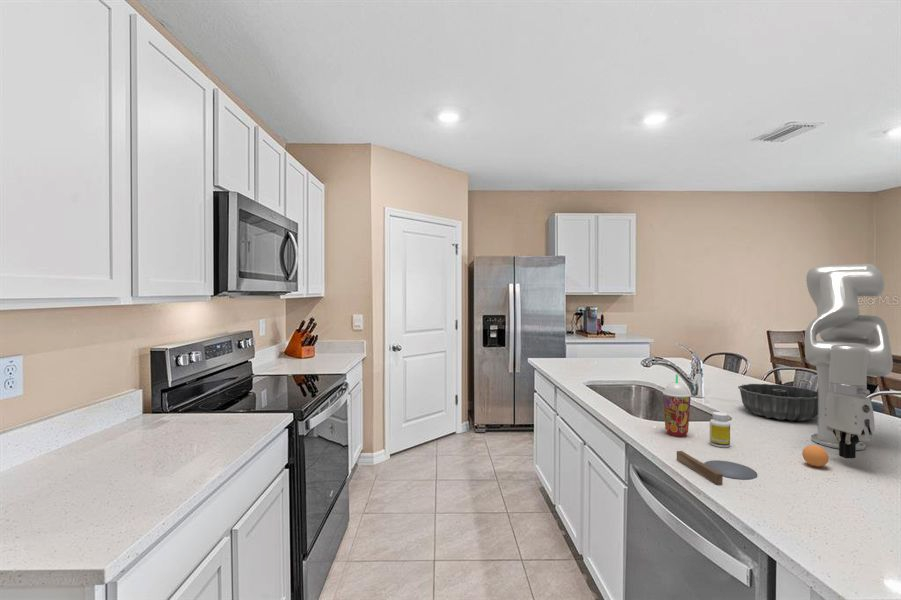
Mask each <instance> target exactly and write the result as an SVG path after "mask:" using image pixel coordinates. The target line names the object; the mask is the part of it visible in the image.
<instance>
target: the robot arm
mask: <svg viewBox="0 0 901 600" xmlns="http://www.w3.org/2000/svg"><path fill="white" fill-rule="evenodd" d="M805 277H806V280H805V281H806V287H807V291H808V293H809V296H810V298H811V299H812V302H813V303H814V305H815V307H816V311H817V313H816V314H817V316H816V317H815V318H814V319H813V320H811V321H810V323H809V324H808V326H807V327H806V329H805V333H804V355H805V356H804V357H805V359H806V362H807V363H808V364H809V365H811V366H813V367H816V374H817V375H816V376H817V391H818V415H817V433H813V434H811V435H810V440H812V441H813V442H814V443H816V444H818V443H819V445H822V446H825V447H828V448H829V447H830V448H834V449H838V455H839V456H838V457H840V458H844V459H856V458H857V457H856V456H857V455H856V451H863V450H865V449H866V443H864V442H870V441H871V438H872V436H873V435H875V429H876V428H875V427H876V426H875V413H874V408H873V404H872V402H871V401H872V400H871V397H867V396H868V395H870V394H871V391H870V390H869V389H867V388H868V387H867V385H868V384H867V382H868V381H867V380H868V379H867V378H868V377H869V376H870V377H886V376H888V375H890V374H891V373H892V371H893V366H894V362H893V354H892V353H893V352H892V348H891V343H890V342H891V341H890V336H889V330H888V327H887V324H886V321H885V320H884V319H883V318H882V317H879V316H876V315H869V314H868V315H867V314H860V307H859V306H860V305H859V297H878V296H880V295H881V294H883V292H884V289H885V279H884V276H883V274H882V271H880V269H878V267H877V266H876V265H874V264H872V263H852V264H851V263H850V264H847V263H845V264H826V265H823V264H822V265H819V266H818V265H817V266H815V267H811V268H810V269H809V270H808V271H807V273H806V276H805ZM818 334H819V337H820V339H821V340H822V341H821V340H817V335H818Z"/></svg>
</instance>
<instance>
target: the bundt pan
mask: <svg viewBox="0 0 901 600" xmlns="http://www.w3.org/2000/svg"><path fill="white" fill-rule="evenodd" d="M737 388H738V389H739V393H740V397H741V402H742V404H743V407H744V408H745V409H746V410H747V411H748V412H749V413H751V414H753V413H755V414H754V415H756V416H758V417H765V418H767V419H772V418H774V419H776V420H779V421H780V420H781V421H782V420H787V421H788V420H789V422H794V421H798V422H801V421H811V420H814V419H815V418H816V417H818V390H817V391H816V390H814V389H810V388H805V387H798V386H790V385H785V384H772V383H771V384H769V383H748V384H741V385H738V386H737Z"/></svg>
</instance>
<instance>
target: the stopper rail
mask: <svg viewBox="0 0 901 600" xmlns="http://www.w3.org/2000/svg"><path fill="white" fill-rule="evenodd" d="M676 461H678V462H679V463H681V464H682V465H684V466H686V467H687V468H689V469H691V470H693V471H694V472H695V473H697V474H699V475H700V476H702V477H704V478H705V479H706V480H709V482H712V483H714V484H715V485H717V486H718V485H719V486H720V485H723V474H721V473H719V472H717V471H716V470H714V469H712V468H711V467H709V466H707V465H705V464H704V463H705V462H704V463H703V462H702V461H700V460H698V459H696V458H695V457H693V456H691V455H690V454H688V453H687V452H685V451H683V450H677V451H676Z"/></svg>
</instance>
